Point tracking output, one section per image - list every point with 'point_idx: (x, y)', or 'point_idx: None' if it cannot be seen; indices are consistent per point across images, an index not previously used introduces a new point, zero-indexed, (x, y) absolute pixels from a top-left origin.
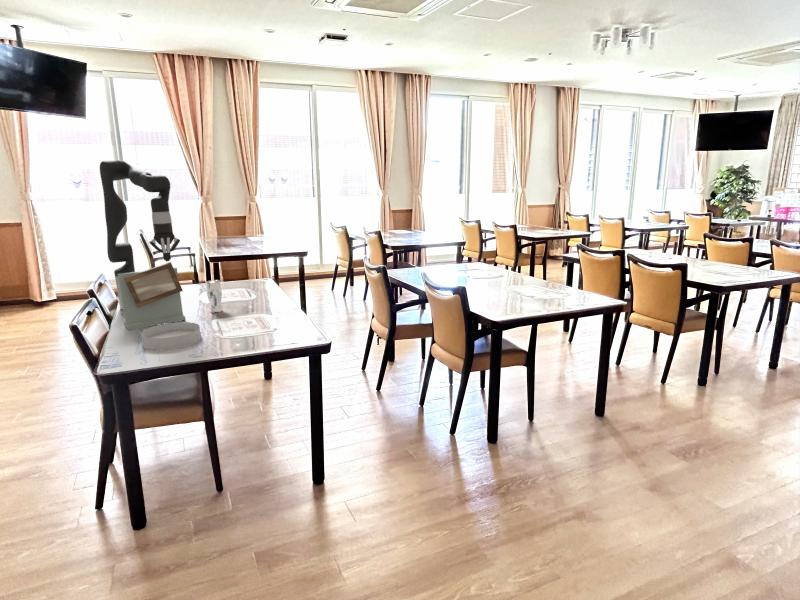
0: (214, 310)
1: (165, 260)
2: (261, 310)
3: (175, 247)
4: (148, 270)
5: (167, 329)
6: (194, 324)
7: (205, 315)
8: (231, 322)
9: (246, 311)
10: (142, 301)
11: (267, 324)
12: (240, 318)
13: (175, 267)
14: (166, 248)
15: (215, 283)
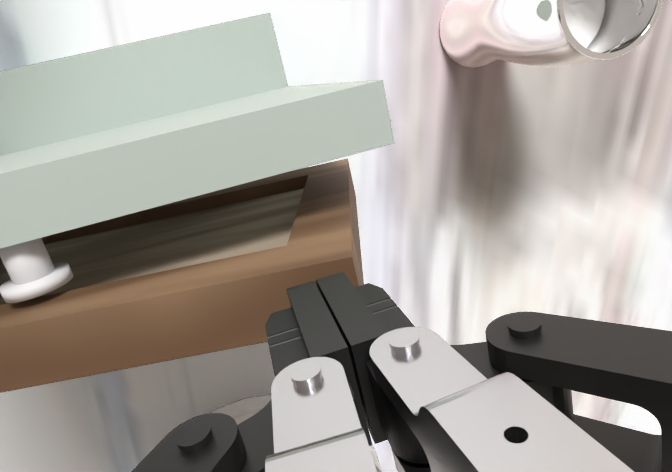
0: (468, 62)
1: (290, 304)
2: (668, 129)
3: (636, 458)
4: (37, 383)
5: (240, 417)
6: None
7: (410, 103)
8: (509, 300)
9: (607, 115)
10: None
11: None
12: (555, 245)
13: (377, 90)
14: (411, 421)
15: (613, 57)
